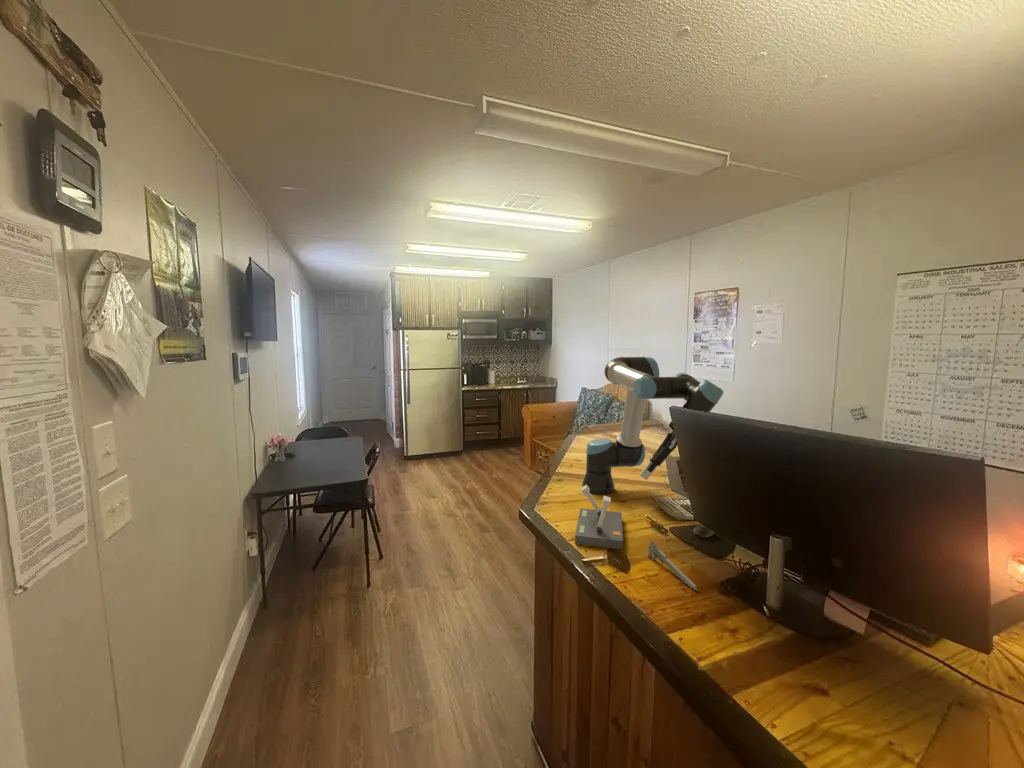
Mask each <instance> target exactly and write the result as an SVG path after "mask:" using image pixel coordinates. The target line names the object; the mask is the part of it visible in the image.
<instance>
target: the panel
mask: <svg viewBox="0 0 1024 768" xmlns="http://www.w3.org/2000/svg"><path fill="white" fill-rule="evenodd" d="M578 513H579V514H578V518H577V519H578V520H577V523H576V529H575V534H574V544H575V543H579V544H578V545H582V544H587V545H586V546H590V545H593V546H592V547H598V546H599V547H600V548H607V549H611V548H610V547H615V548H619V549H618V550H623V549H624V535H623V533H624V532H623V517H622V512H621V511H613V510H612V511H611V510H610V511H609V510H606V514H605V518H604V522H603V525H602V532H601V533H598V532H597V524H598V522H599V519H600V516H598V512H597V511H596V509H590V508H589V509H588V508H582V507H581V508H580V509H579V512H578ZM615 548H614V549H615Z"/></svg>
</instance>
